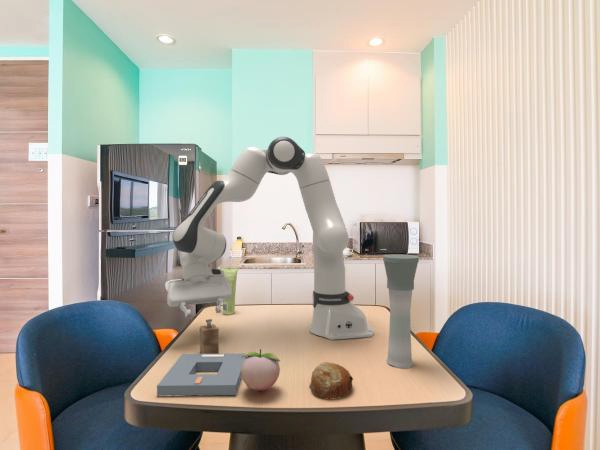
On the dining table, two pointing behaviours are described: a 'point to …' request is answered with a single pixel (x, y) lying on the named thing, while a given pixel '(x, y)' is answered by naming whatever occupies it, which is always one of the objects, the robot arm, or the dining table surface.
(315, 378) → the bread roll
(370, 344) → the dining table surface
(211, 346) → the wooden peg with knob
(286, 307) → the dining table surface
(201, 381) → the socket plate
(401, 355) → the container
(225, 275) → the tube
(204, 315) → the dining table surface
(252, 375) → the decorative fruit
